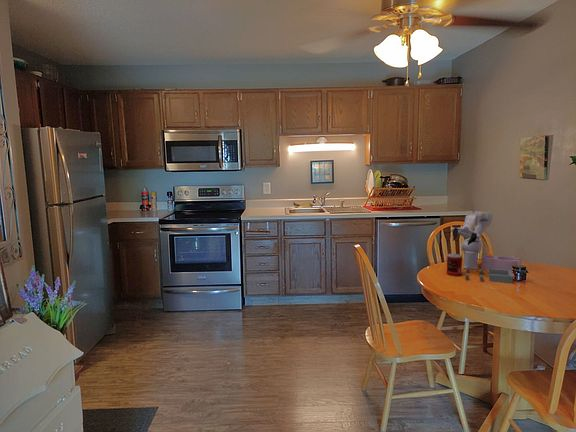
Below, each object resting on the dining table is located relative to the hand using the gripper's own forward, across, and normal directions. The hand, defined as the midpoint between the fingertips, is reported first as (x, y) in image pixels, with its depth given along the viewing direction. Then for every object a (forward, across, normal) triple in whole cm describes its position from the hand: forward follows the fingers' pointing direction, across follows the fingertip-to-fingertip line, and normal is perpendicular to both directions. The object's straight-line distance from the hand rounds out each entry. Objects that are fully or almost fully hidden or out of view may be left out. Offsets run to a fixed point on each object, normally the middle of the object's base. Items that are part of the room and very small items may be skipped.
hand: (461, 241), depth 218 cm
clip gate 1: (+5, +8, +18) cm, 20 cm away
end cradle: (+2, +22, +16) cm, 27 cm away
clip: (-17, +22, +25) cm, 37 cm away
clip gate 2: (+4, +14, +17) cm, 22 cm away
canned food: (+7, +1, +19) cm, 20 cm away
